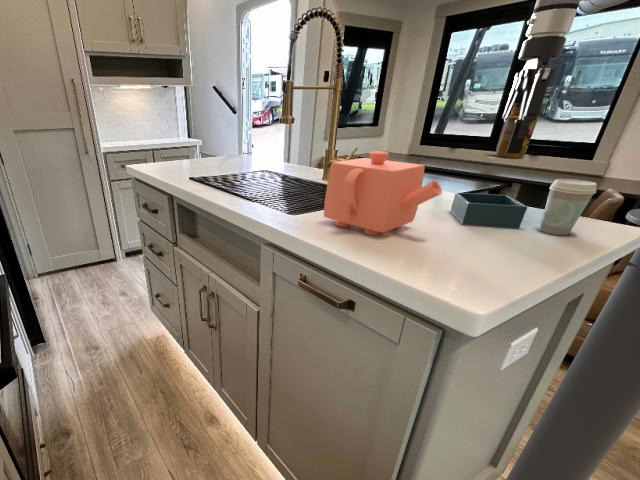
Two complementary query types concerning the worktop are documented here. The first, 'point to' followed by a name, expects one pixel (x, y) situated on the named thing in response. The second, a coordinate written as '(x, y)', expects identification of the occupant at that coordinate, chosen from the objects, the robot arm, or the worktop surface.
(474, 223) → the box
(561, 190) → the coffee cup
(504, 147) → the condiment
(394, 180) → the teapot
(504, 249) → the worktop surface
